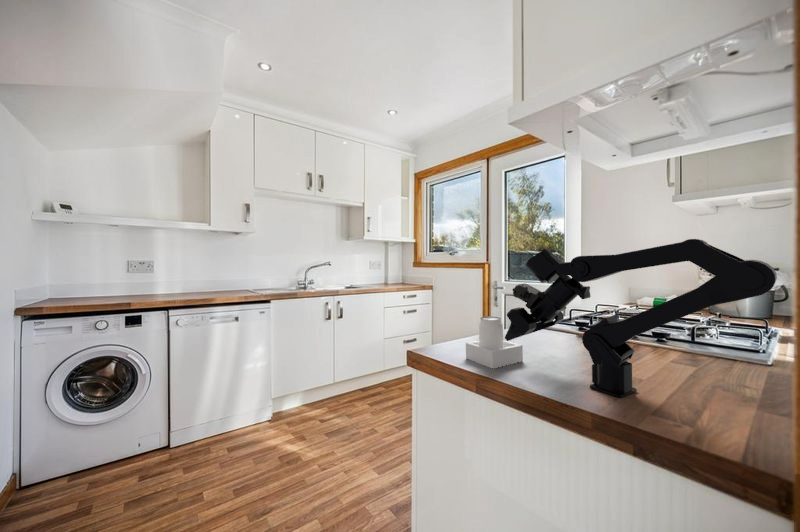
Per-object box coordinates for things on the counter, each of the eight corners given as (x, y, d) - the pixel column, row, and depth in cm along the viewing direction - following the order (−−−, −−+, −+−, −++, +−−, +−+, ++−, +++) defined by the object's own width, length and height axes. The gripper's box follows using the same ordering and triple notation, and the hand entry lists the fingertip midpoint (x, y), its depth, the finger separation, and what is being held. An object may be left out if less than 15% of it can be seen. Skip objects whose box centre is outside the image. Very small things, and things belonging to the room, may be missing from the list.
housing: (522, 361, 92) (522, 345, 92) (493, 368, 86) (492, 351, 86) (494, 352, 101) (493, 337, 101) (466, 358, 96) (465, 342, 96)
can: (482, 364, 90) (481, 320, 90) (477, 357, 96) (476, 316, 96) (506, 364, 90) (505, 319, 90) (499, 357, 96) (498, 315, 96)
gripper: (550, 271, 90) (514, 308, 98) (513, 275, 78) (475, 317, 86) (582, 302, 84) (541, 339, 93) (546, 312, 72) (503, 353, 81)
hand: (515, 336), depth 88 cm, fingers open, 9 cm apart
